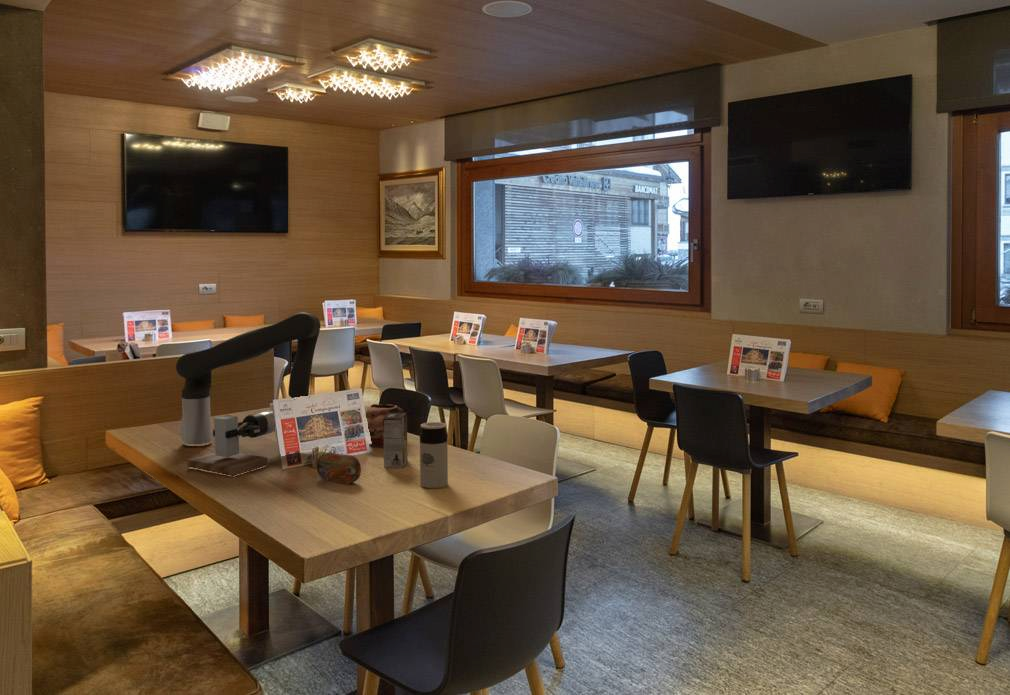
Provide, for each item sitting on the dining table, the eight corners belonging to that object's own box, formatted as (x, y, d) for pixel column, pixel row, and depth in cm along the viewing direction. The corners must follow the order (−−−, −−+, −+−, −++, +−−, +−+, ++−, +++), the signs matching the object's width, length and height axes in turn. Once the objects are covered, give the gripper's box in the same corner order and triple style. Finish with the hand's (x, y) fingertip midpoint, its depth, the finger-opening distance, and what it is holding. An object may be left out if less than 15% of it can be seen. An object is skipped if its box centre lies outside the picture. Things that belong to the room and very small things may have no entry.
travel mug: (433, 479, 231) (433, 420, 229) (453, 484, 226) (452, 424, 224) (414, 485, 225) (413, 425, 223) (434, 490, 220) (433, 428, 218)
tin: (316, 479, 232) (315, 452, 231) (323, 477, 235) (322, 449, 234) (356, 486, 225) (355, 458, 224) (362, 483, 228) (362, 455, 227)
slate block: (215, 455, 243) (213, 417, 242) (228, 451, 248) (226, 414, 246) (226, 457, 241) (225, 419, 240) (239, 453, 245) (237, 416, 244)
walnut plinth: (187, 469, 244) (187, 459, 243) (223, 459, 256) (222, 450, 255) (233, 477, 234) (232, 467, 234) (267, 466, 246) (267, 457, 246)
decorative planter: (388, 436, 290) (387, 399, 288) (415, 439, 284) (414, 402, 283) (354, 447, 272) (353, 408, 271) (382, 451, 266) (381, 411, 265)
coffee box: (388, 460, 254) (387, 412, 252) (407, 460, 254) (407, 412, 252) (383, 467, 245) (382, 418, 243) (403, 468, 245) (403, 418, 243)
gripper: (244, 410, 259) (203, 420, 244) (276, 414, 252) (235, 424, 238) (245, 432, 260) (204, 443, 245) (277, 437, 253) (236, 448, 238)
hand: (220, 434), depth 241 cm, fingers closed on slate block, 5 cm apart
